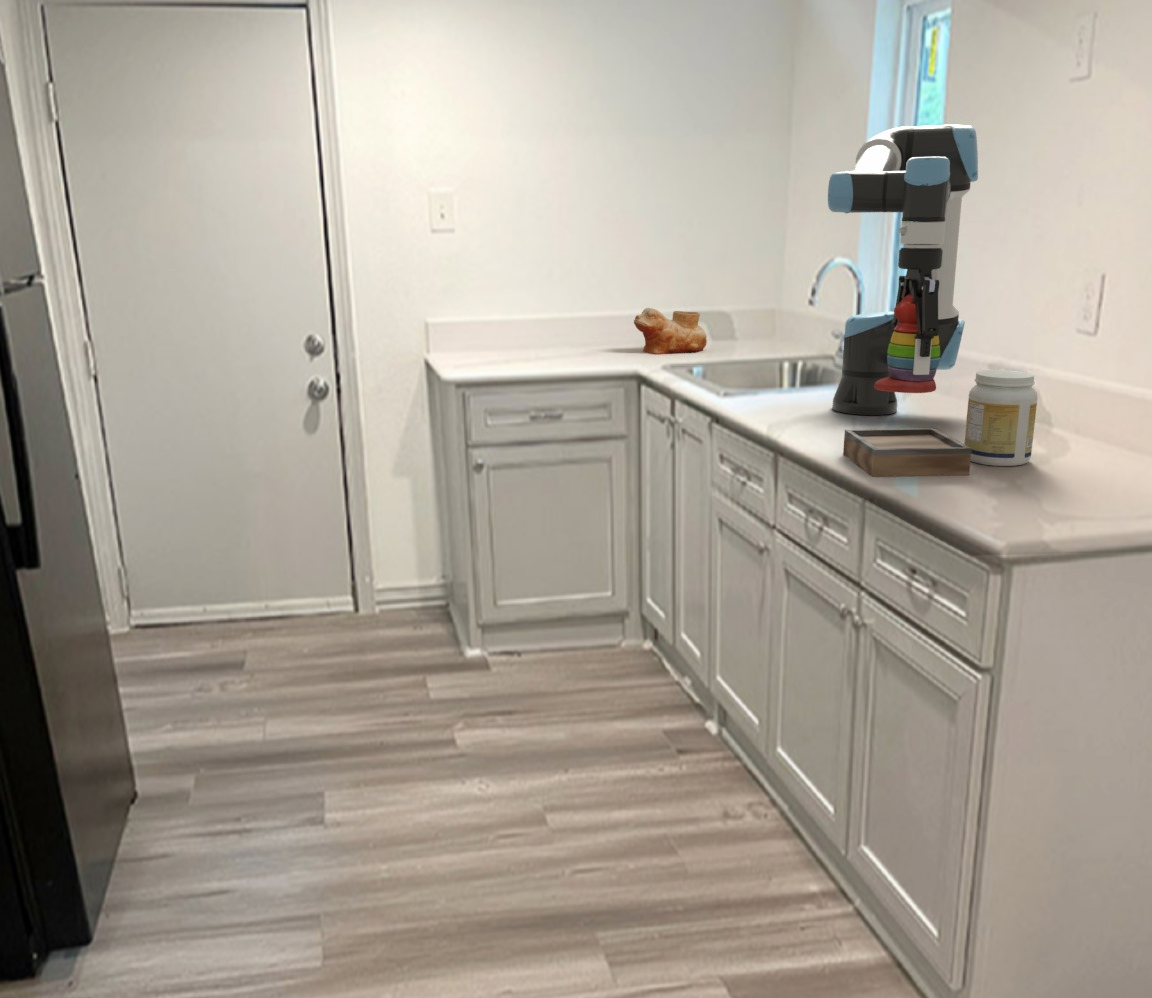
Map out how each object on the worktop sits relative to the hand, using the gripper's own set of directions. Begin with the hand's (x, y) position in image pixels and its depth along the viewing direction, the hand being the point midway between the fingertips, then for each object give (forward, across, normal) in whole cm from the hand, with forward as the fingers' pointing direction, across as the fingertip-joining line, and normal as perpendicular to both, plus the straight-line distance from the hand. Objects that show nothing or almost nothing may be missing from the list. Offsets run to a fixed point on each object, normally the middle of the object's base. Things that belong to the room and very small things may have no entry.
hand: (911, 370), depth 195 cm
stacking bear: (+4, 0, 0) cm, 4 cm away
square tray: (+18, 0, 0) cm, 18 cm away
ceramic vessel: (+18, -165, -22) cm, 167 cm away
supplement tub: (+18, -2, +19) cm, 26 cm away
